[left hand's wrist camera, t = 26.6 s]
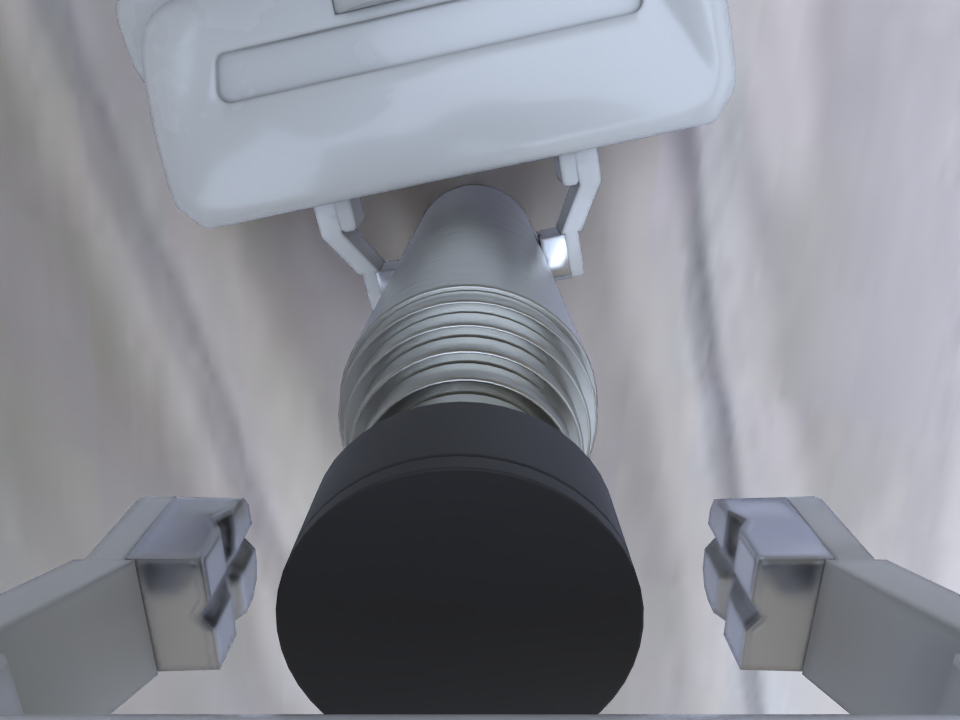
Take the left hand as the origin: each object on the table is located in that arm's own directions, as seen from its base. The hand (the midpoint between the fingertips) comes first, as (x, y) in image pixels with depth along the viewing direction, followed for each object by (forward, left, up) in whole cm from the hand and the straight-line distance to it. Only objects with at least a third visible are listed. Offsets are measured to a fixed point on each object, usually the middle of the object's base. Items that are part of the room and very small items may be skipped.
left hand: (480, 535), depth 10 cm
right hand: (0, -1, -18) cm, 18 cm away
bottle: (0, 0, -23) cm, 23 cm away
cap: (0, 0, +2) cm, 2 cm away
